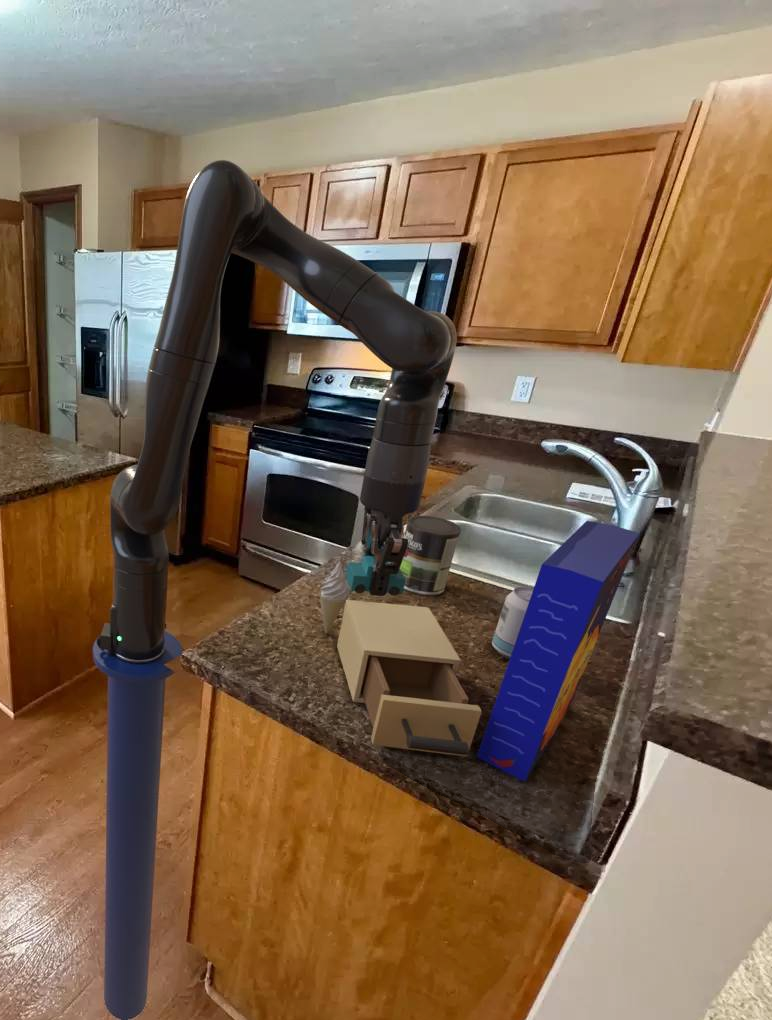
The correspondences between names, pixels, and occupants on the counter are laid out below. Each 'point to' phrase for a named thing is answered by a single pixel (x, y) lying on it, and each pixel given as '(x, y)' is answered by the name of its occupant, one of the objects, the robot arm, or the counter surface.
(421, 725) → the drawer
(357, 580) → the toy car
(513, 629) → the beverage can
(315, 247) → the robot arm
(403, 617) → the cabinet
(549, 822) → the counter surface
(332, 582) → the ice cream cone
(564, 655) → the cereal box
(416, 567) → the coffee can
